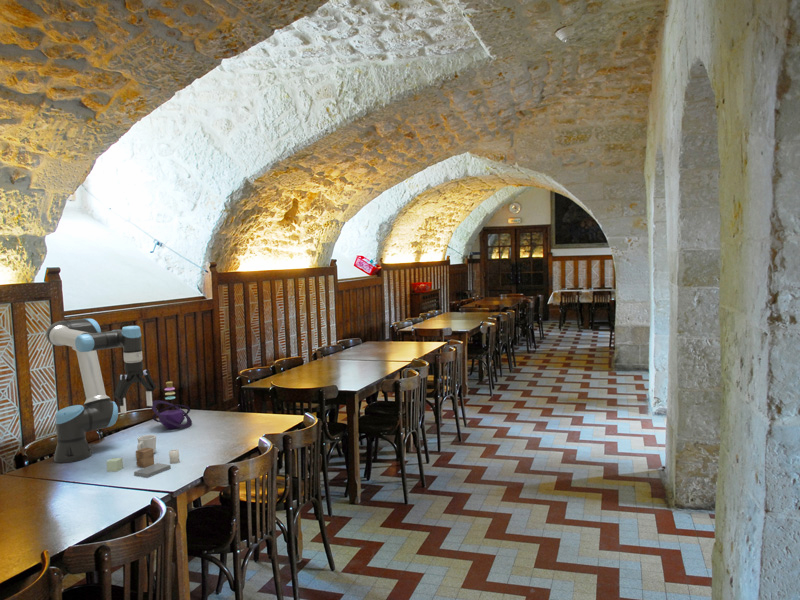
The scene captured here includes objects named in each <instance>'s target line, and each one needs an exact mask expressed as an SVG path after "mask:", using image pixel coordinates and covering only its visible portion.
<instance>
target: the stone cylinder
mask: <svg viewBox="0 0 800 600" xmlns="http://www.w3.org/2000/svg"><path fill="white" fill-rule="evenodd" d="M168 456H169V464H170V465H171V464H172V465H173V464H178V463H180V451H179V449H171V450H169V451H168Z"/></svg>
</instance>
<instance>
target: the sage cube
mask: <svg viewBox="0 0 800 600" xmlns="http://www.w3.org/2000/svg"><path fill="white" fill-rule="evenodd" d="M106 469H107V470H106V471H107V472H109V473H110V472H119V471H121V470H122V469H124V460H123V457H112V458H110V459H108V460H106Z"/></svg>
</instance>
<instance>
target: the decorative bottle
mask: <svg viewBox="0 0 800 600" xmlns="http://www.w3.org/2000/svg"><path fill="white" fill-rule="evenodd" d="M173 383H174V382H173V381H172V380H171V381H167V382H165V385H166V388H164V391H167V392H165V393H164V395H165V396H166V397H164V399H165V400H167V401H165V400H159V399H157V400H155V399H154V400H152V406H150V407H151V410H152V411H153V413H154V414H153V416H152V419H153V421H154V422H157V423H161V425H162V426H164V428H166V430H168V429H169V430H174V429H178V428H183V429H185V428H190V427H191V426H192V425H193V423H192V422H193V421H192V419H191V417H190V416H189V413H190V412H191V408H190V406H188V405H186V404H185V405H184V404H173V403H171V402H168V401H170V400H175V399H176V396H175V394H176V392H175V391H174V390H175V389H176V388H175V387H174V386H173ZM160 404H164V405H167V406H166V407H164V408H161V409H160V410H157V406H158V405H160ZM181 407H183V408H186V409H187V411H184V410H183V409H182V408H181ZM169 408H173V409H169ZM156 417H158V419H157V418H156ZM185 419H186V423H183V422H184V421H185Z"/></svg>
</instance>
